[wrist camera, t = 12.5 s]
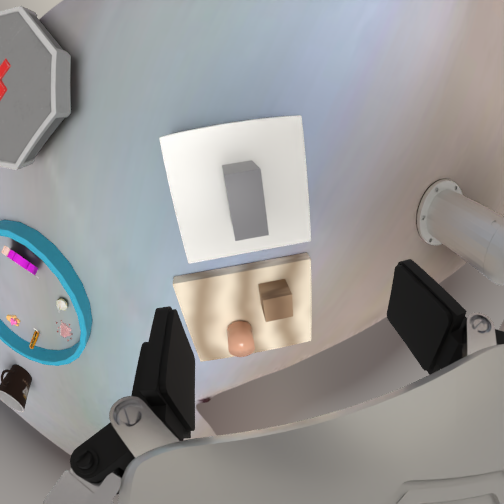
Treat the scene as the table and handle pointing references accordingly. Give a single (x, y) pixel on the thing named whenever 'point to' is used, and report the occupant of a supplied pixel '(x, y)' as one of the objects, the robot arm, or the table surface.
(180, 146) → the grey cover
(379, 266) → the table surface
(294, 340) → the birch board
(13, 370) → the coffee mug
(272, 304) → the walnut block
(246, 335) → the terracotta cylinder
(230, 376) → the table surface
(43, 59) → the first aid kit
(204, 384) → the table surface
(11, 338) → the blue ring
